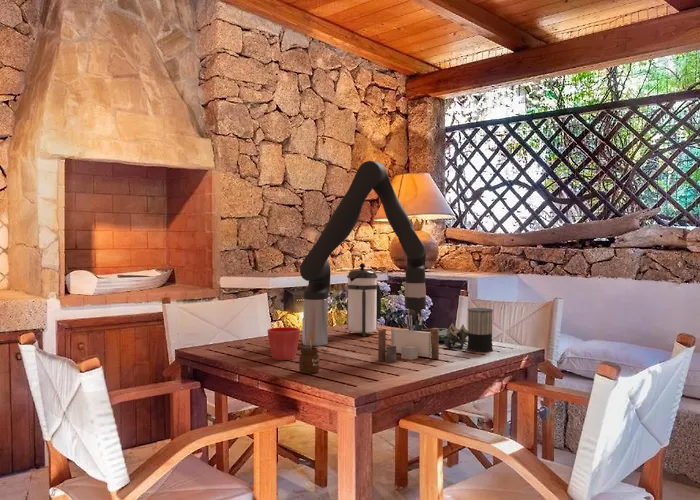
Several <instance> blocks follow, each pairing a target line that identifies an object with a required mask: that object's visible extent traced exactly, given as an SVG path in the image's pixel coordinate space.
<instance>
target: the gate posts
mask: <svg viewBox="0 0 700 500" xmlns="http://www.w3.org/2000/svg"><path fill="white" fill-rule="evenodd" d="M431 329H432V339H431V360H439V358H440V357H439V355H440V354H439V349H440V347H439V345H440V341H439V329H440V328H438V327H432V328H431ZM377 332H378V333H377V335H378V336H377V337H378V338H377V340H378V341H377V344H378V346H377V348H378V349H377V350H378V352H377V355H378V356H377V362H378V361H379V362H386V363H397V353H396V346H391V345H386V343H387V340H386V339H387V337H386V336H387V335H386V333H387V330H386V329H378V330H377Z"/></svg>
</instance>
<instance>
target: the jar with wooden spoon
mask: <svg viewBox="0 0 700 500" xmlns="http://www.w3.org/2000/svg"><path fill="white" fill-rule="evenodd" d="M314 335H315V330H314V334H313V330H312V335H311V330H310V336H305V337H309V339H308V340H310V345H309V346H307V345H306V344H305V345H304V344H303V343H302V344H303V347H301V348H300V352H299V353H300V354H299V361H298V365H299V367H298V368H299V369H298V370H299V372H300V373H301V374H307V375H308V374H309V375H310V374H316V373H319V371H320V356H319V354H318V353H319V349H318V347H315V346H314V347H313V346H312V341H314ZM312 336H313V338H312ZM303 339H304V338H303Z"/></svg>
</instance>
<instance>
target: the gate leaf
mask: <svg viewBox="0 0 700 500" xmlns="http://www.w3.org/2000/svg"><path fill="white" fill-rule="evenodd" d="M390 332H391V335H390V336H391V338H390V339H391V340H390V341H391V344H390V346H396V354H401V347H402V346H406V345H411V346H418V357H426V358H430V357H431V332H422V331H412V330H409V329H401V328H391V331H390Z"/></svg>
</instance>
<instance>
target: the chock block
mask: <svg viewBox="0 0 700 500" xmlns="http://www.w3.org/2000/svg"><path fill="white" fill-rule="evenodd" d="M400 355H401V356H400V357H401V358H400V359H404V360H409V361H410V360H411V361H412V360H416V359H418V358H419V356H418V346H411V345H406V346H402V347H401V353H400Z"/></svg>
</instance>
